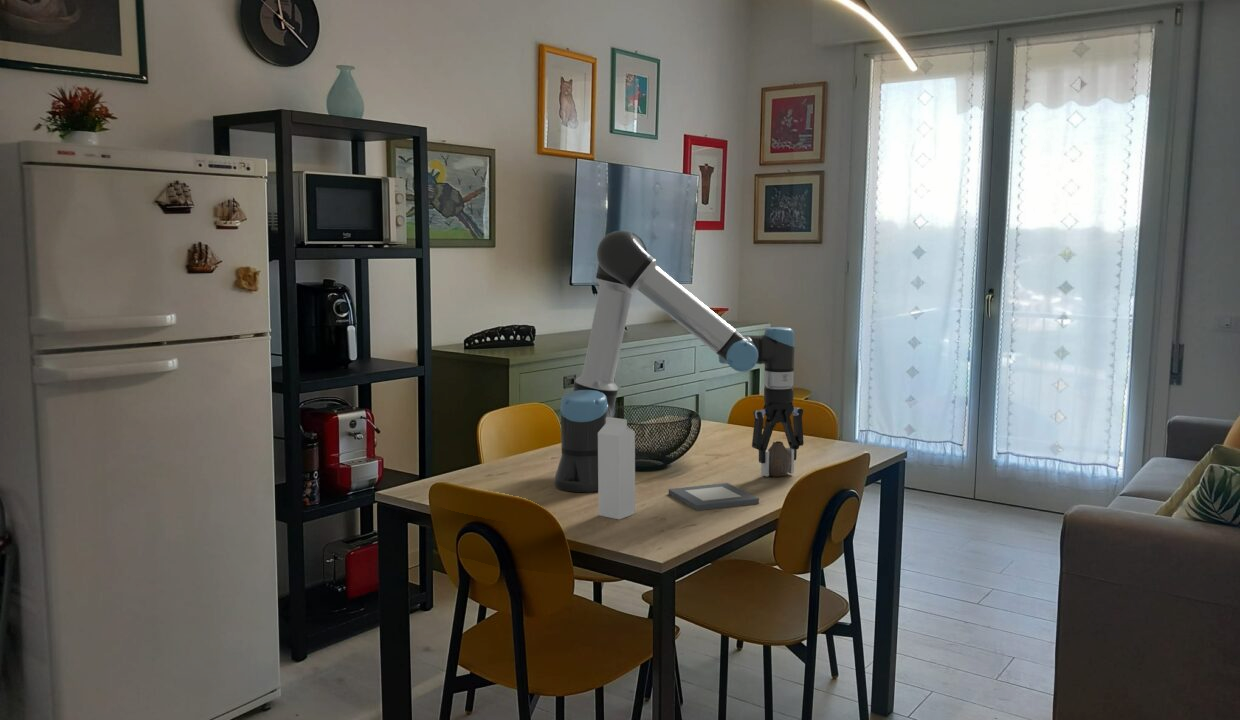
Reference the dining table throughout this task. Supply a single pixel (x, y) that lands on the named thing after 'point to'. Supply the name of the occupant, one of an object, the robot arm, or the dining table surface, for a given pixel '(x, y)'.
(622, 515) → the milk
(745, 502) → the rest mat
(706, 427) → the dining table surface
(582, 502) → the dining table surface
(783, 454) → the vase
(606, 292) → the robot arm
